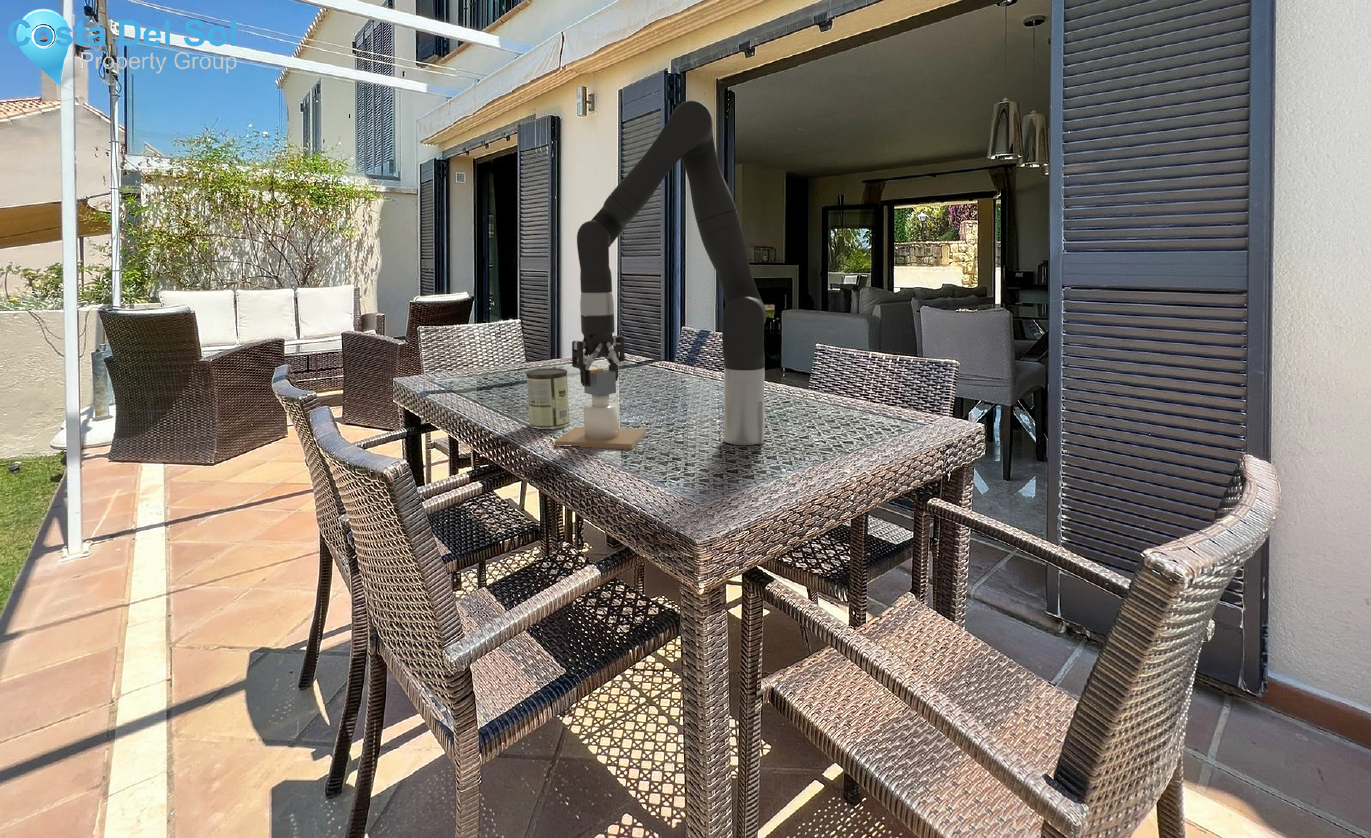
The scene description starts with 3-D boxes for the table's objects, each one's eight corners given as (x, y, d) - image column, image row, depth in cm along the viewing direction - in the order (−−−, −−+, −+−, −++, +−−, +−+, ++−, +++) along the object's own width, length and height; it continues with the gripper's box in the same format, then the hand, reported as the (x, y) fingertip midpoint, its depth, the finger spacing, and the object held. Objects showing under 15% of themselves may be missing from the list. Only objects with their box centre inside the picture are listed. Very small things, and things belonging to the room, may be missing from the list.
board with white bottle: (646, 434, 172) (645, 389, 169) (631, 449, 158) (630, 401, 156) (575, 431, 175) (573, 388, 172) (555, 446, 161) (552, 399, 159)
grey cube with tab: (602, 390, 168) (601, 366, 166) (616, 392, 164) (615, 368, 163) (584, 392, 164) (583, 369, 163) (597, 395, 160) (596, 371, 159)
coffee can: (536, 420, 188) (533, 368, 185) (574, 421, 187) (571, 368, 184) (523, 429, 178) (520, 374, 175) (563, 430, 177) (561, 374, 174)
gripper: (608, 310, 168) (611, 377, 171) (562, 314, 157) (565, 386, 161) (631, 311, 163) (633, 381, 166) (584, 315, 152) (587, 389, 156)
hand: (600, 383), depth 164 cm, fingers open, 8 cm apart
